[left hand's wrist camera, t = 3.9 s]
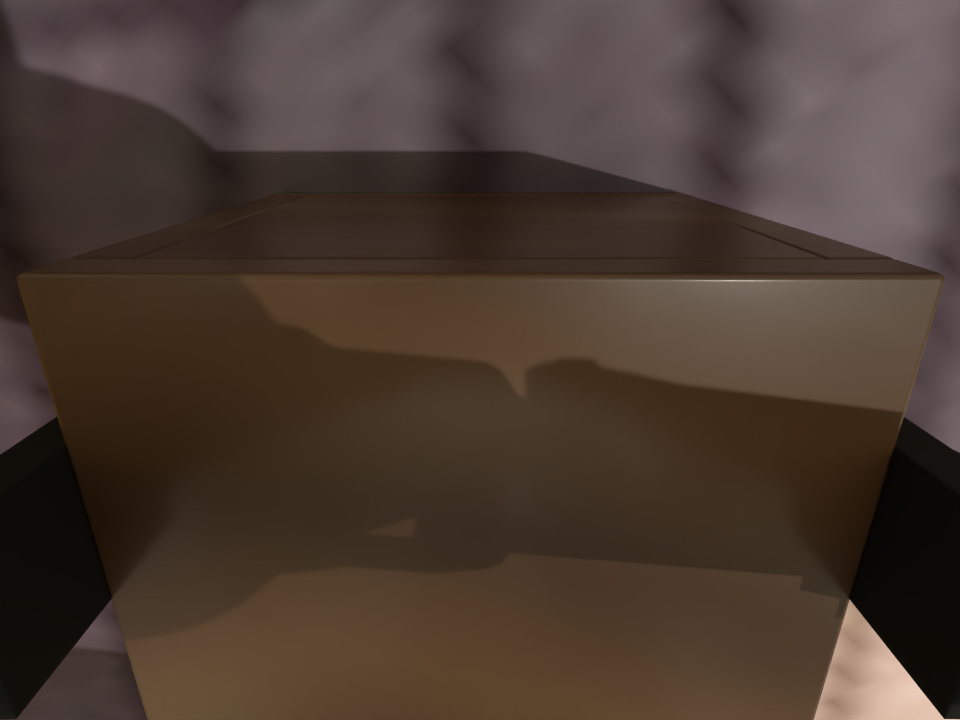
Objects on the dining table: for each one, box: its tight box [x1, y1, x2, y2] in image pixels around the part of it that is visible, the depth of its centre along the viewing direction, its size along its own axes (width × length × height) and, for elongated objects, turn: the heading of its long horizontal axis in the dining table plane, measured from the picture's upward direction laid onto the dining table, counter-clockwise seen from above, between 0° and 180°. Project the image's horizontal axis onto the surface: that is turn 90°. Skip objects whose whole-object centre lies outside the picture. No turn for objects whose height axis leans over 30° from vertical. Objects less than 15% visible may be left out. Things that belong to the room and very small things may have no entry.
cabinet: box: [17, 193, 944, 720], centre depth 16 cm, size 21×12×10 cm, turn 0°
